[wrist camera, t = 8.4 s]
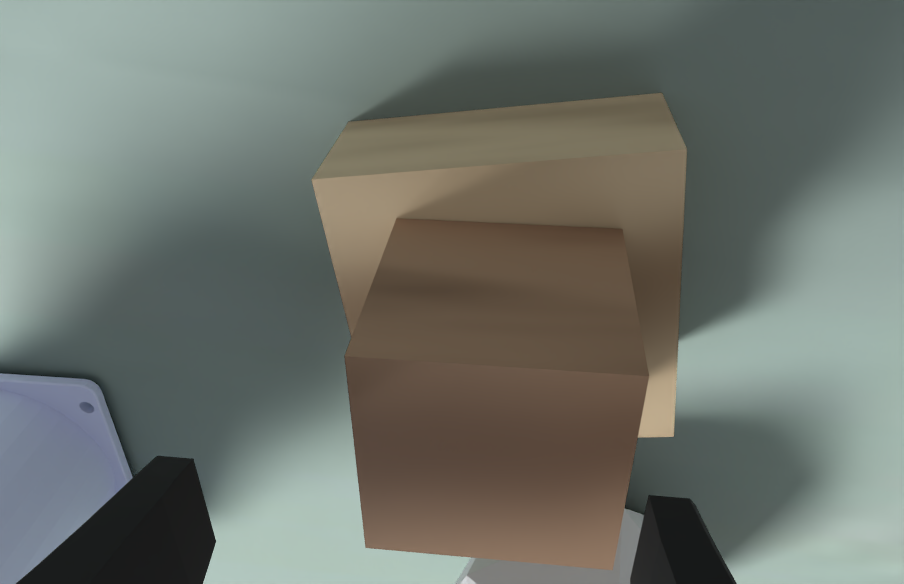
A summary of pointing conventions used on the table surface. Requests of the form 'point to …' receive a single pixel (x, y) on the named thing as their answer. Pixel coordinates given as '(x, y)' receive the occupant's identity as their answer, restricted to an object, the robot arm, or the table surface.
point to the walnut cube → (497, 392)
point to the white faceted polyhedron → (521, 580)
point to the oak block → (523, 197)
